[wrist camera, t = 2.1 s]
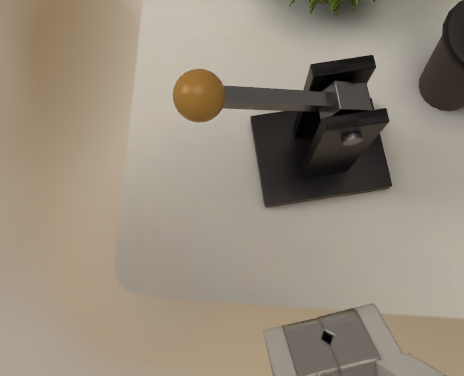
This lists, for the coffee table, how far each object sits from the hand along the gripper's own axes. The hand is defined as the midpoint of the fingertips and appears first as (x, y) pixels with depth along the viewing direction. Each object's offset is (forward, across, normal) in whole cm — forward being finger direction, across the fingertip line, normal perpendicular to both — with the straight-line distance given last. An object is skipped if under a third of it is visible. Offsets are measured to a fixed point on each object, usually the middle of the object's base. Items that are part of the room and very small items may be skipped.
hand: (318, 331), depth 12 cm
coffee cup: (+32, -23, +9) cm, 40 cm away
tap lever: (+21, -3, +2) cm, 21 cm away
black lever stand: (+30, -8, +12) cm, 33 cm away
